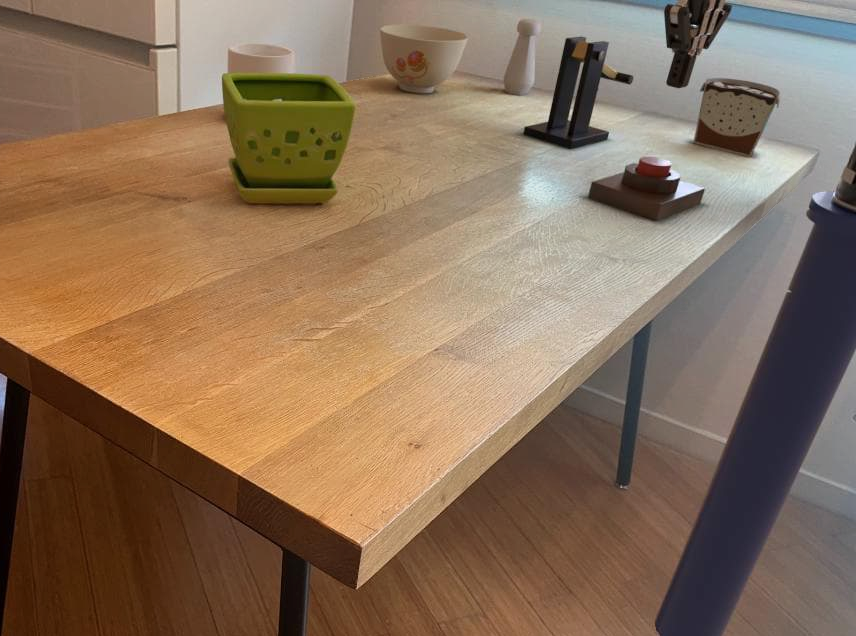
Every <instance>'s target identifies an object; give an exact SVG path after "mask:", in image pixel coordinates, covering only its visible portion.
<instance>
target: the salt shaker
mask: <svg viewBox="0 0 856 636" xmlns="http://www.w3.org/2000/svg"><path fill="white" fill-rule="evenodd" d="M541 29H542V23H541V22H540V21H539V20H538V19H533V18H522V19H520V20H519V21H518V22H517V26H516V32H517V33H518V36H517V39H516V42H515V44H514V48H513V50H512V53H511V56H510V58H509V62H508V64H507V67H506V70H505V72H504V75H503V84H504V85H503V86H504V89H505V90H504V91H505V92H506V93H508V94H510V95H515V96H526V95H528V94H529V92H530V90H531V88H532V87H533V86H534V83H535V76H536V75H535V74H536V73H535V72H536V71H535V70H536V69H535V68H536V66H535V65H536V36H538V35H539V34H540V33H541Z"/></svg>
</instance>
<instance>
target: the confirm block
mask: <svg viewBox="0 0 856 636" xmlns="http://www.w3.org/2000/svg"><path fill="white" fill-rule="evenodd" d="M637 167H638V163H630V164H626V165H625V166H624V170H623V172H620V173H617V174H613V175H609V176H606V177H603V178H599V179H597V180H593V181H591V183H590V187H589V191H588V195H587V198H588V199H590V200H594V201H596V202H600V203H601V204H605V205H608V206H611V207H614V208H617V209H620V210H623V211H625V212H629V213H632V214H634V215H637V216H641V217H642V218H643V217H644V218H647V219H649V220H653V221H655V222H656V221H660V220H662V219H664V218H668V217H670V216H672V215H675V214H678V213H681V212H683V211H685V210H688V209H691V208H693V207H696V206H700V205H701V203H702V200H703V197H704V193H705V190H706V188H705V187H703V186H700V185H699V186H698V185H696V184H694V183H693V184H692V183H689V182H685V181H683V180H681V174H680V173H679V172H677V171H675V170H673V169H672V168H670V171H669V175H668V177H654V176H648V175H645V174H642V173H639V172H637Z"/></svg>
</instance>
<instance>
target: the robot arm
mask: <svg viewBox="0 0 856 636" xmlns="http://www.w3.org/2000/svg"><path fill="white" fill-rule="evenodd" d="M732 9H733V5H732V4H728V3H726V0H677V2H675V4H671V3H667V4H666V6H665V8H664V10H663V16H664V29H665V39H666V40H665V41H666V48H667V49H671V52H672V53H673V57H672V60H671V64H670V67H669V71H668V74H667V78H666V82H665V83H666V86H667V87H670V88H675V89H682V88H686V87H688V85H689V83H690V80H691V76H692V74H693V70H694V67H695V65H696V64H695V63H696V60H697V56H698V57H699V56H700V55H701V54H702V52H703V50H708V49H709V48H710V46H711V45H712V43H713V42H714V40H715V38H716V37H717V35H718V33H719V32H720V30H721V28H722V27H723V25H724V24H725V22H726V20H727V19H728V17H729V16H730V14H731V12H732ZM834 191H835V193H834V194H833V197H832V199H831V201H832V203H833V204H834V205H836V206H837V207H839V208H841V209H843V210H846V211H848V212H851V213H854V214H856V141H855V142H854V144H853V147H852V150H851V152H850V155H849V157H848V159H847V162H846V165H845V166H844V168H843V171H842V173H841V176H840V179H839V181H838V183H837V186H836V189H835V190H834Z"/></svg>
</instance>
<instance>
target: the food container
mask: <svg viewBox="0 0 856 636" xmlns="http://www.w3.org/2000/svg"><path fill="white" fill-rule="evenodd" d="M699 92H700V93H701V92H703V93H702V98H701V102H700V107H699V113H698V118H697V123H696V126H695V127H696V128H695V133H694V137H693V143H694V144H696V145H701V146H704V147H709V148H713V149H717V150H720V151H725V152H729V153H733V154H736V155H741V156H745V157H748V158H750V157H752V156H753V154H754V153H755V150H756V148H757V145H758V143H759V141H760V140H761V137H762V135H763V132H764V130H765V128H766V127H767V123H768V121H769V119H770V117H771V115H772V113H773V111H774V108H775V107H776V109H778V108H780V104H781V97H782V96H781V95H780V94H781V91H780V89H778V88H775V87H773V86H771V85H768V84H764V83H759V82H754V81H750V80H744V79H737V78H728V77H709V78H706V80H705V82H703V83H702V85H701V87H700V89H699Z"/></svg>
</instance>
